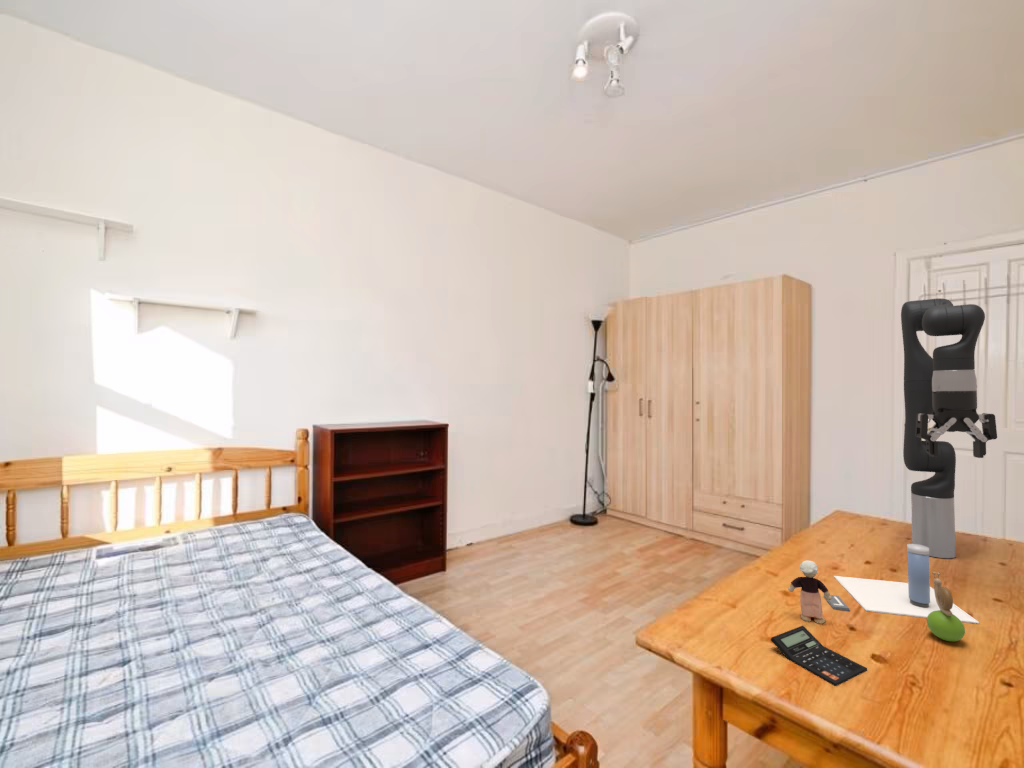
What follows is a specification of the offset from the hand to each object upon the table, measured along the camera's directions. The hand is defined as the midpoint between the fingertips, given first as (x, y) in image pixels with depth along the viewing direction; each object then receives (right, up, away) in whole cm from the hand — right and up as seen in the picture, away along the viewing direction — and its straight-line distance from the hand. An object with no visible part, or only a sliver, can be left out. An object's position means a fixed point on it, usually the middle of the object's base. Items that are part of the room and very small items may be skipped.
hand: (955, 457), depth 104 cm
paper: (-14, -33, -1) cm, 36 cm away
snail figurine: (-19, -34, -17) cm, 42 cm away
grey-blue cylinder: (-13, -33, -4) cm, 36 cm away
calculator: (-49, -35, -23) cm, 64 cm away
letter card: (-31, -34, -3) cm, 46 cm away
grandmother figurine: (-41, -34, -9) cm, 54 cm away
